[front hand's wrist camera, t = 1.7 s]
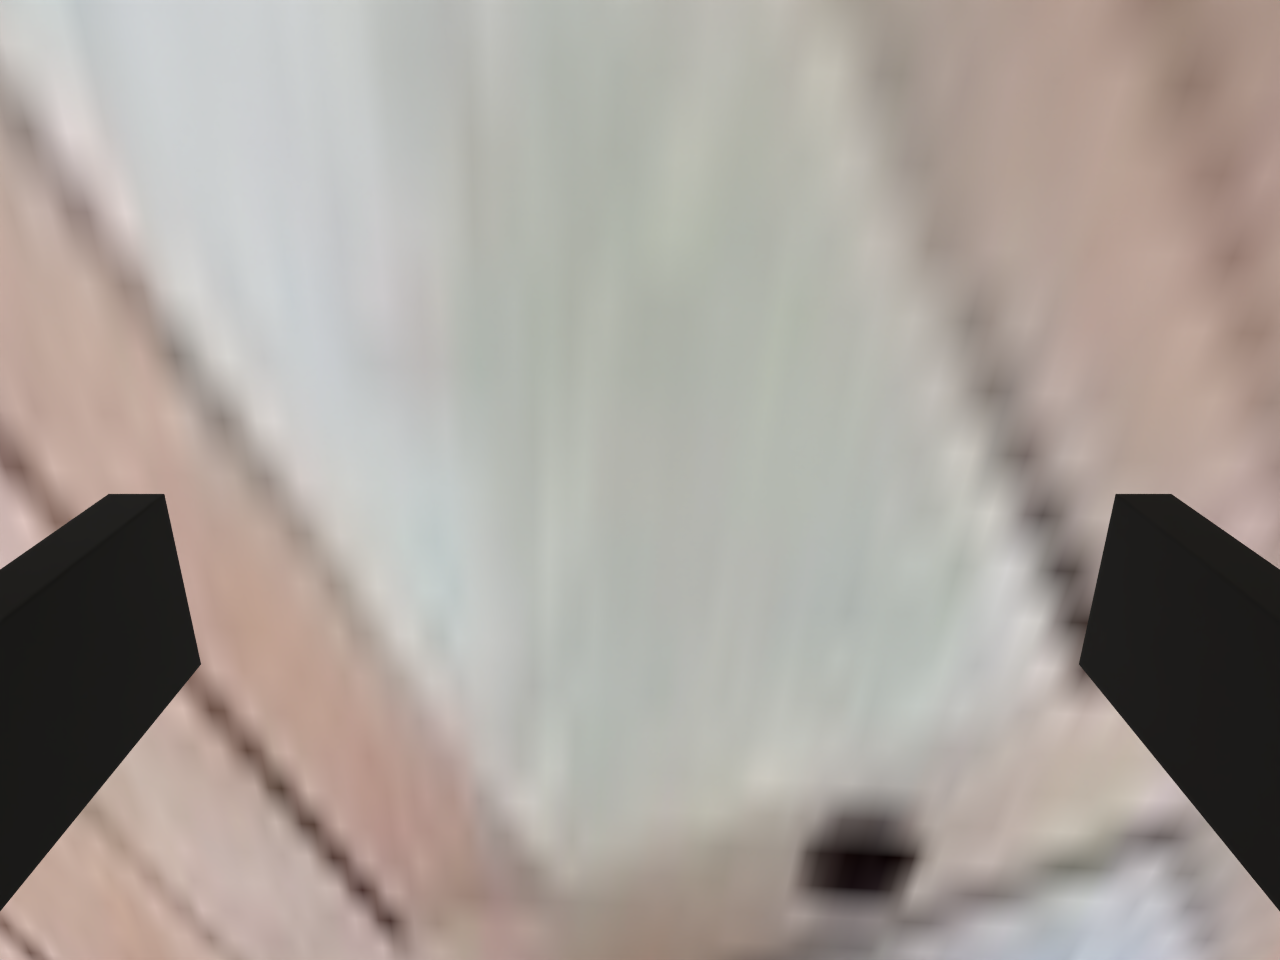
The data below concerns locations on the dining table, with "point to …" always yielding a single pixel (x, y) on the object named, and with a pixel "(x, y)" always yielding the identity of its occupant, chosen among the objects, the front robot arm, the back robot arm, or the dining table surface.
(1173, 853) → the dining table surface
